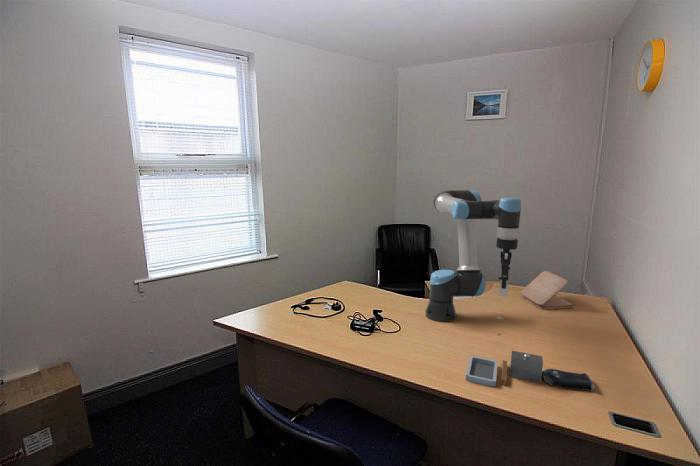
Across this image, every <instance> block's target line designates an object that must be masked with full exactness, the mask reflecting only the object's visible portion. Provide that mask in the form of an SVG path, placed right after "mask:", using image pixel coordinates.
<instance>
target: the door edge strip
mask: <svg viewBox="0 0 700 466" xmlns="http://www.w3.org/2000/svg"><path fill="white" fill-rule="evenodd" d="M507 365H508V360H502V365H501V366H502V367H501V384H500V385H501V386H506V385H507V370H508V369H507V368H508V366H507Z"/></svg>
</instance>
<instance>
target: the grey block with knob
mask: <svg viewBox="0 0 700 466" xmlns="http://www.w3.org/2000/svg"><path fill="white" fill-rule="evenodd" d="M543 366H544V360H543V356H542V355H537V354H532V353H526V352H522V351H515V350H511V356H510V367H509V377H510V378H513V379H517V380H523V381H526V382H532V383H536V384H537V383H538V384H541V383H542V371H543Z"/></svg>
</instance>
